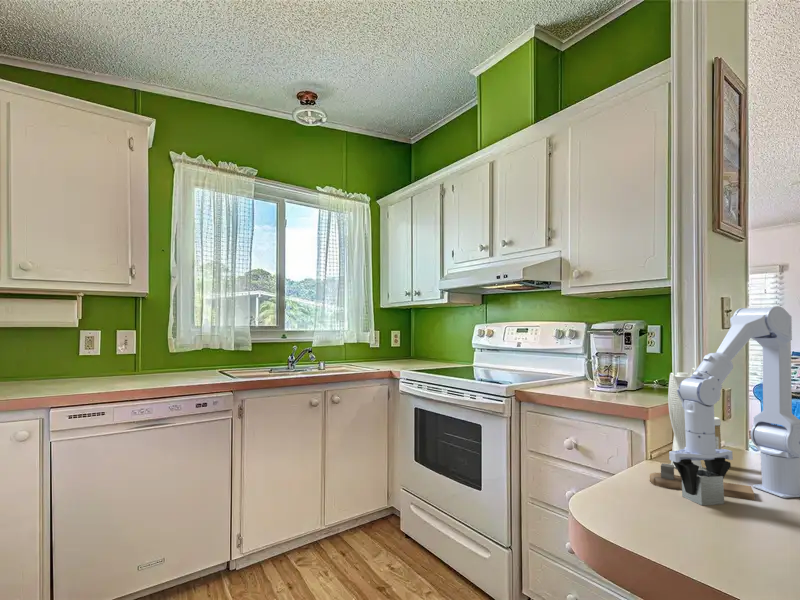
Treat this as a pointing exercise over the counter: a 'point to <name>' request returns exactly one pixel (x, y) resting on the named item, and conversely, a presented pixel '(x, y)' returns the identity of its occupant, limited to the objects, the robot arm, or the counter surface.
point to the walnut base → (675, 482)
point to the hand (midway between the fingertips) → (702, 492)
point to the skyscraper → (678, 413)
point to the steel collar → (707, 488)
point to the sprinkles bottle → (717, 433)
